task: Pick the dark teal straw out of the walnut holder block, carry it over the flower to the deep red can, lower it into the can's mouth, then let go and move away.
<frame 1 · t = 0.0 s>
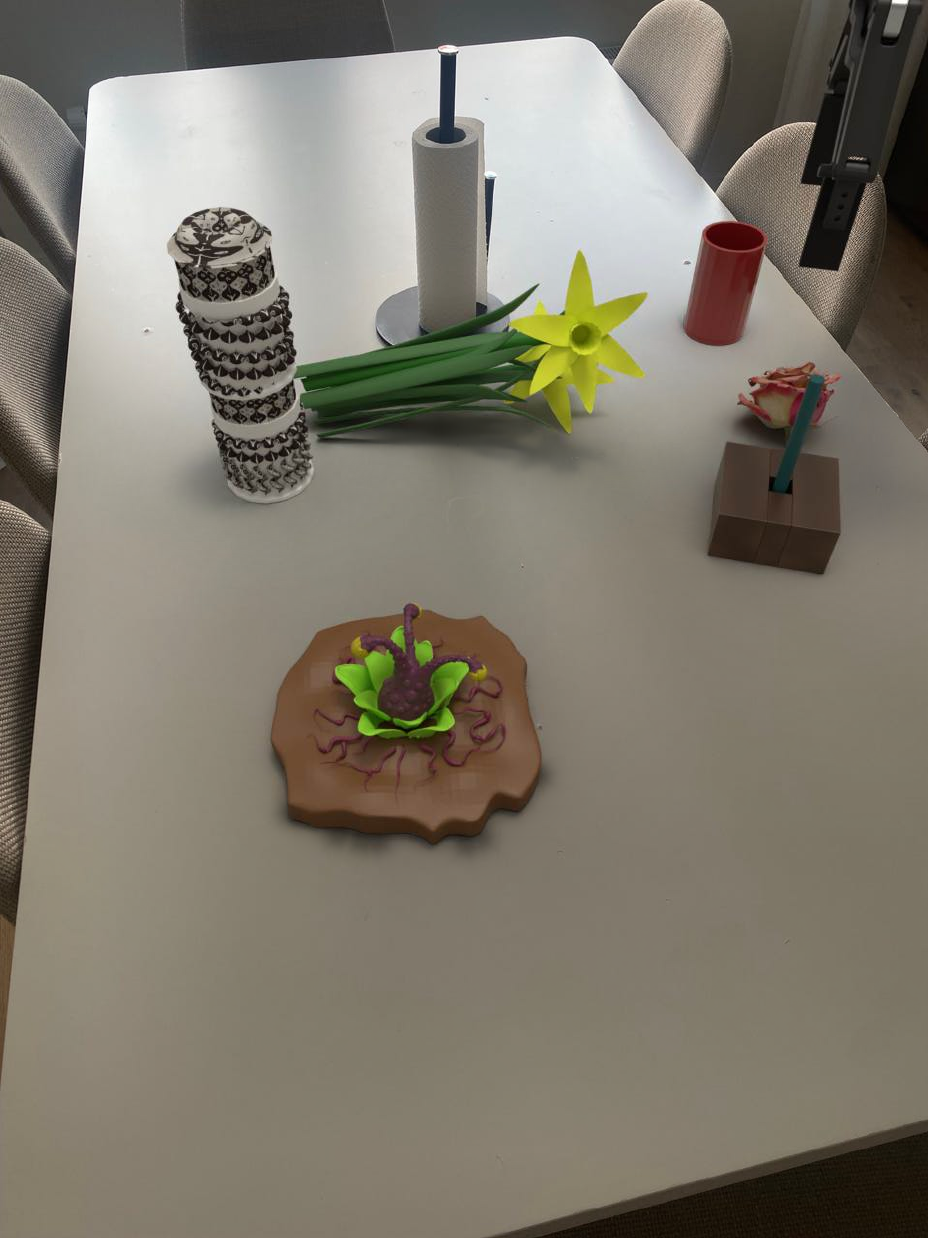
hand: (817, 222, 70), 25 cm above the table, tool pointing down, fingers open, 13 cm apart
daffodil flowers: (457, 431, 93), on the table
decorative candle: (271, 476, 89), on the table
flower: (775, 428, 93), on the table
holder: (766, 526, 83), on the table
plant: (405, 728, 70), on the table
straw: (790, 458, 77), in the holder
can: (713, 328, 105), on the table
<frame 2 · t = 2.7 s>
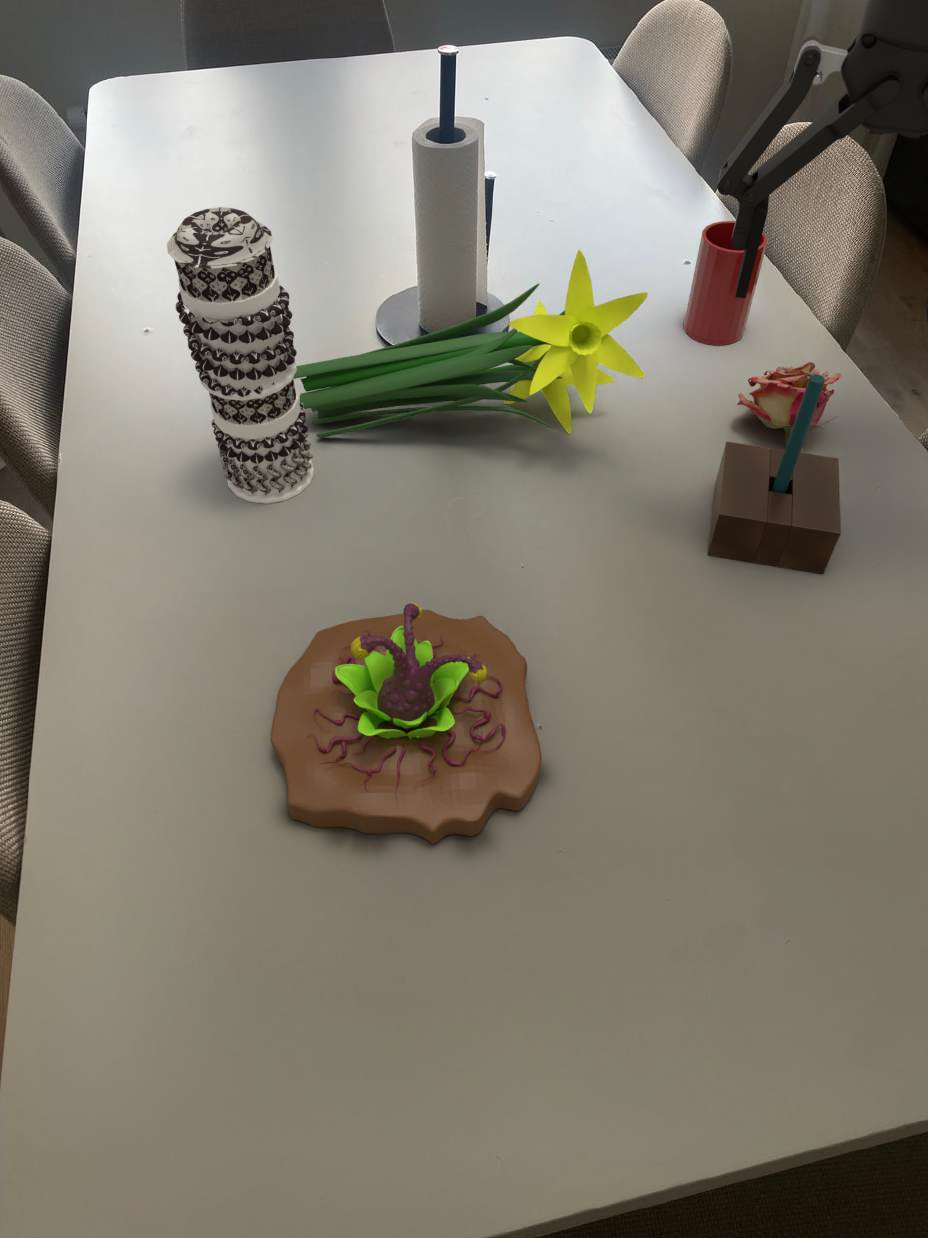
hand: (834, 301, 67), 22 cm above the table, tool pointing down, fingers open, 13 cm apart
nothing on the table moved.
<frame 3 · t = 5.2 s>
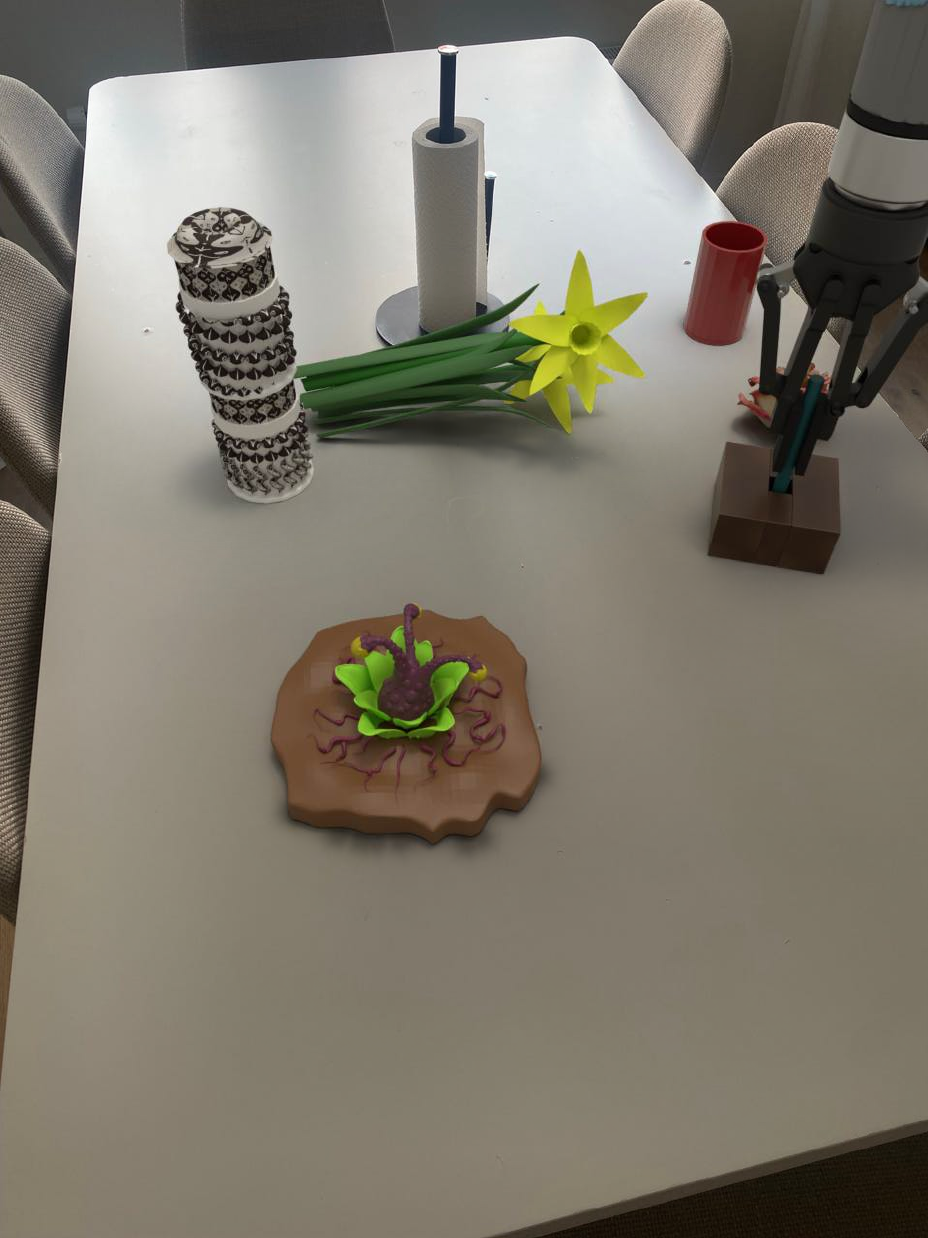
hand: (788, 463, 78), 7 cm above the table, tool pointing down, fingers closed on straw
straw: (789, 458, 77), in the holder, touching gripper
everything else where it was.
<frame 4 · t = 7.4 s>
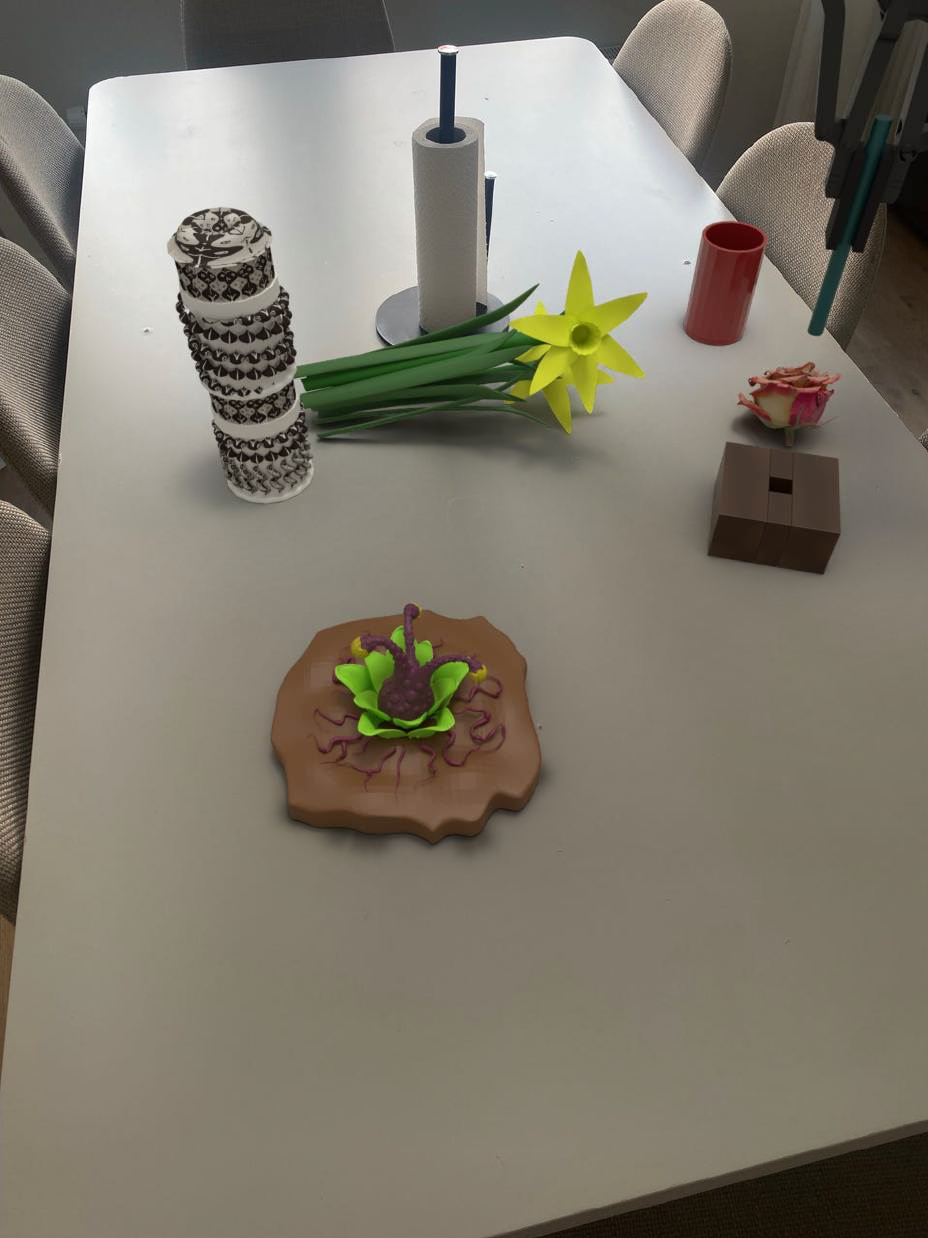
hand: (843, 241, 67), 25 cm above the table, tool pointing down, fingers closed on straw
straw: (846, 234, 66), point 26 cm above the table, touching gripper
everything else where it was.
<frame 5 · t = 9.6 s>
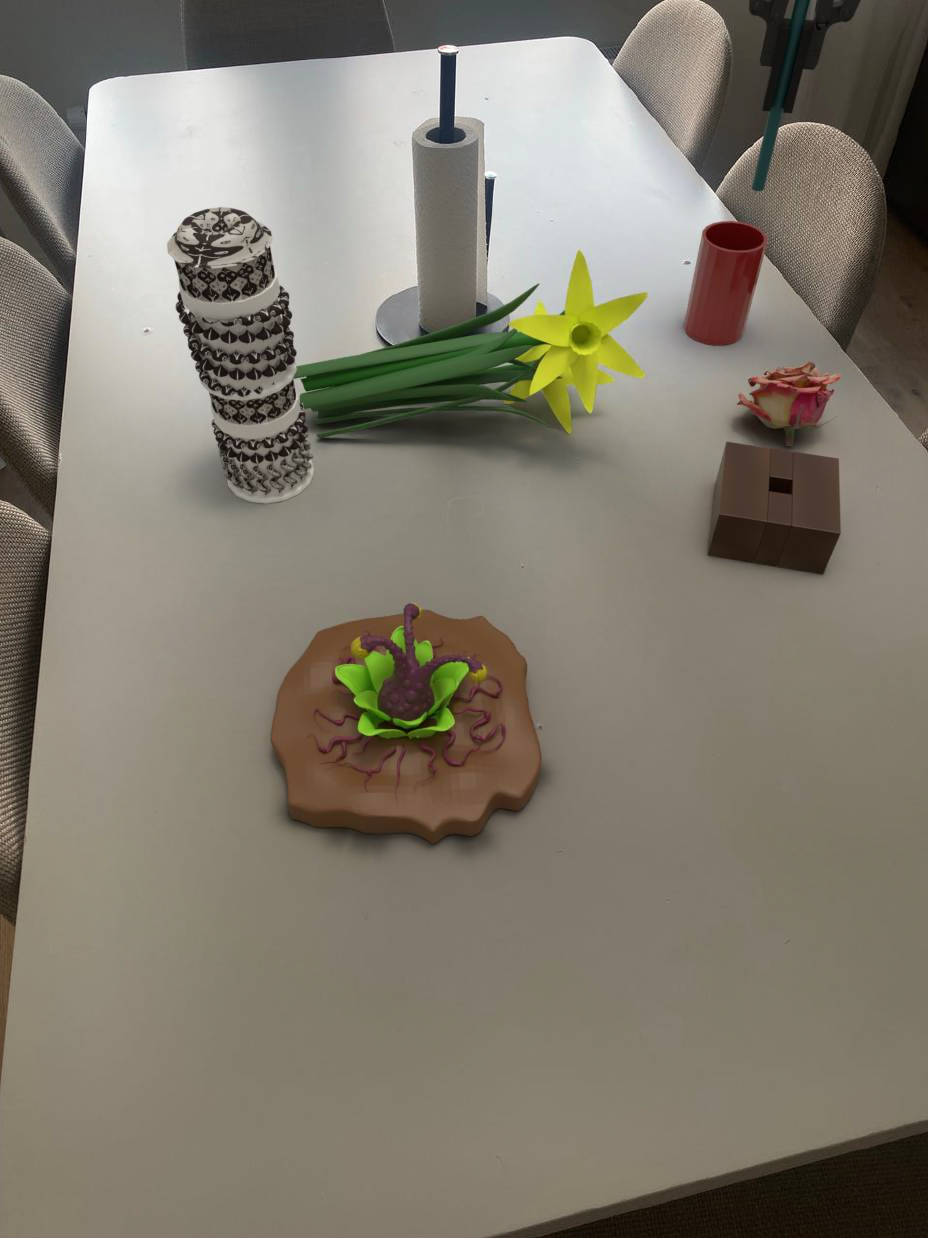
hand: (777, 105, 83), 25 cm above the table, tool pointing down, fingers closed on straw
straw: (778, 99, 82), point 26 cm above the table, touching gripper
everything else where it was.
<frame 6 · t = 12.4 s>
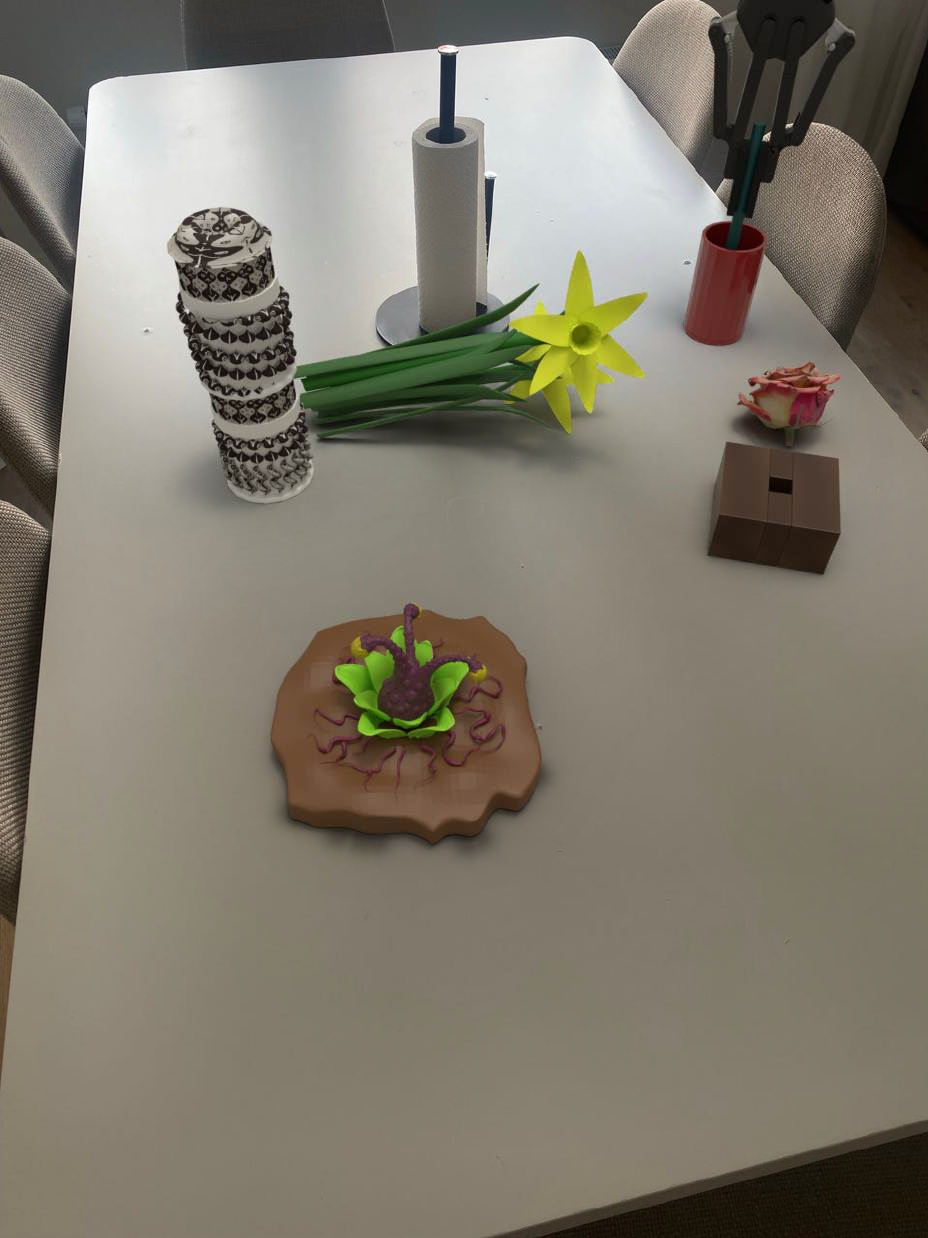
hand: (739, 210, 94), 14 cm above the table, tool pointing down, fingers closed on straw
straw: (741, 205, 94), point 14 cm above the table, touching gripper
everything else where it was.
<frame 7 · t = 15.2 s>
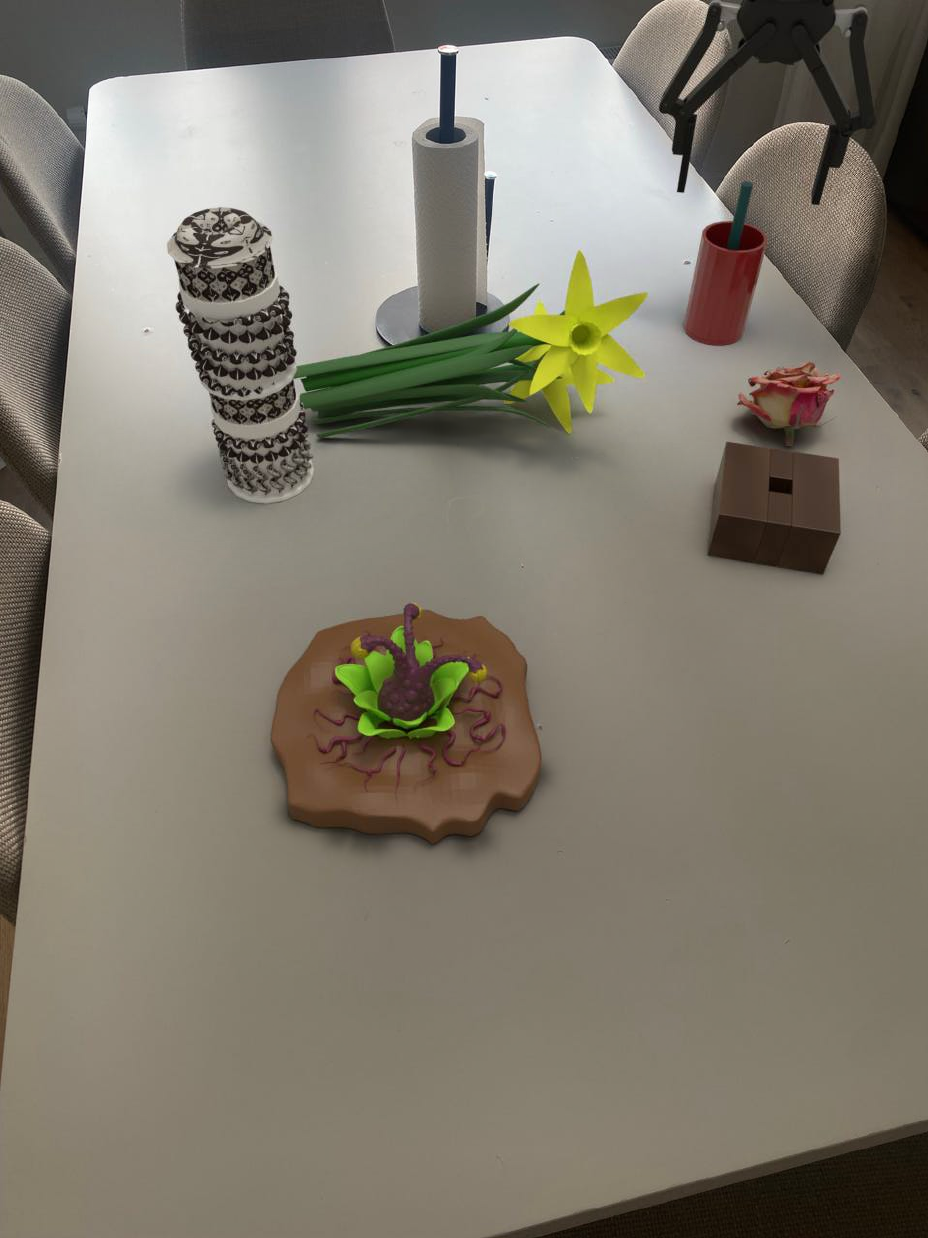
hand: (747, 192, 93), 16 cm above the table, tool pointing down, fingers open, 13 cm apart
straw: (730, 258, 98), in the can
everything else where it was.
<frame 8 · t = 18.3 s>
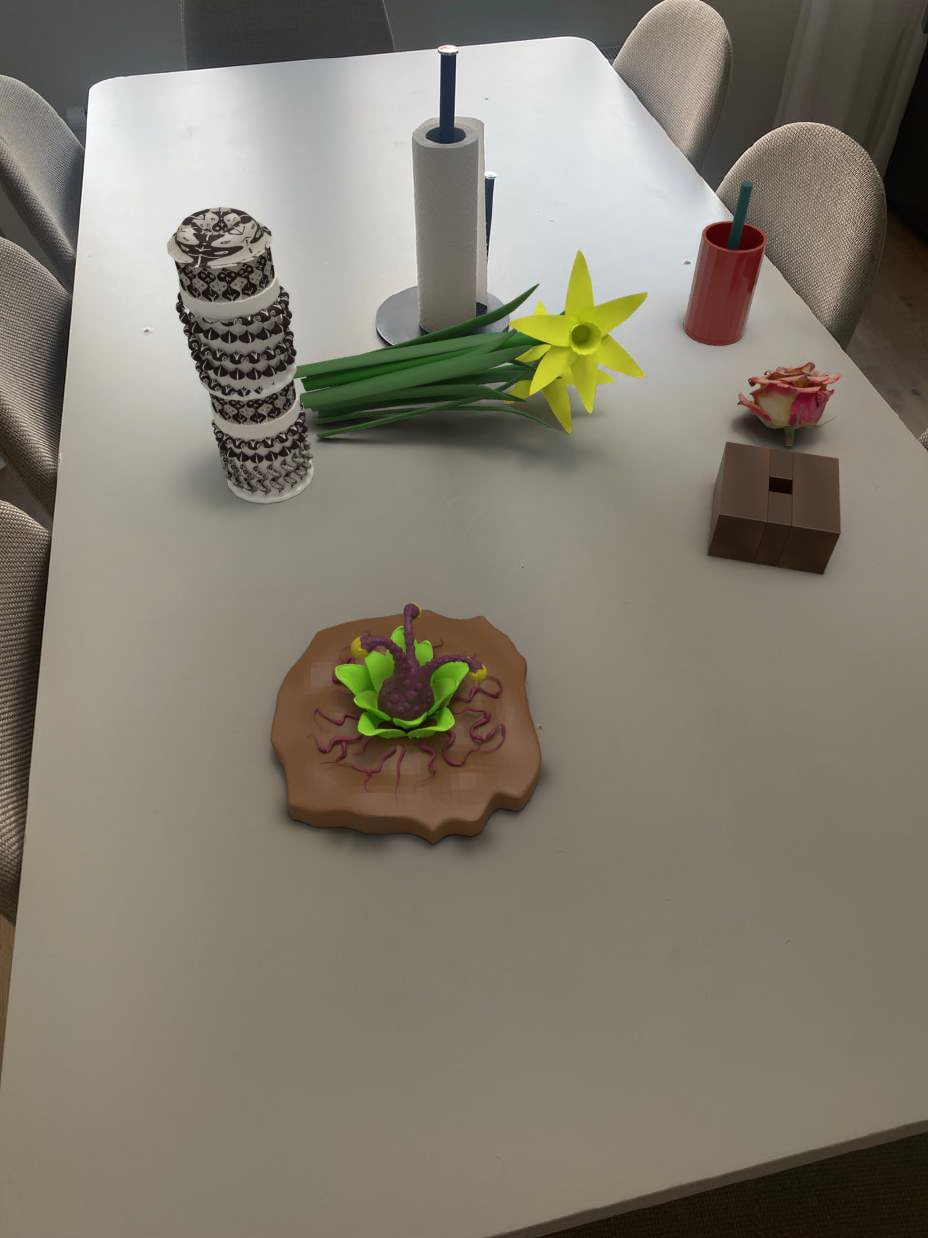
nothing on the table moved.
at the end: straw 0.1 cm off-centre in the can, point 8.5 cm above the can's base; the gripper is holding nothing; straw moved 32.7 cm from its start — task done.
